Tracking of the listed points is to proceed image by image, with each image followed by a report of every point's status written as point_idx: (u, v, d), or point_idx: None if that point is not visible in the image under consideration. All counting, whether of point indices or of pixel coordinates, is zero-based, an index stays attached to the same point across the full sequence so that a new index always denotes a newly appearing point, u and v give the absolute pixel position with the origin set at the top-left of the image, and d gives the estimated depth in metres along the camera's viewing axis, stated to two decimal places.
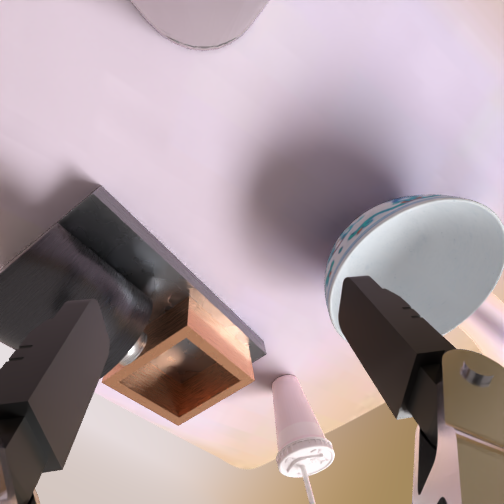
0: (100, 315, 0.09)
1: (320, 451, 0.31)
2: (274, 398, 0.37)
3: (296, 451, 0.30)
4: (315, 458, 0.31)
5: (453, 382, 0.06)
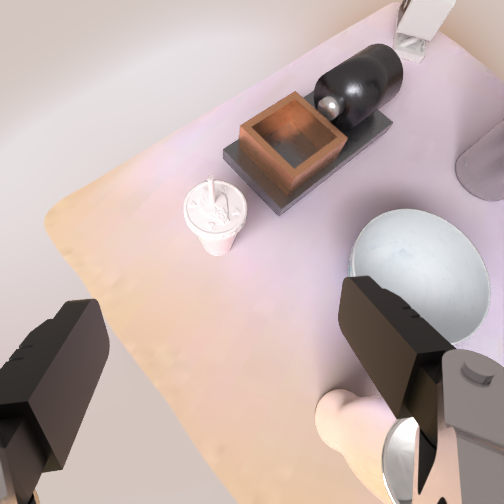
0: (100, 315, 0.09)
1: (234, 218, 0.28)
2: None
3: (240, 193, 0.29)
4: (225, 213, 0.28)
5: (453, 382, 0.06)
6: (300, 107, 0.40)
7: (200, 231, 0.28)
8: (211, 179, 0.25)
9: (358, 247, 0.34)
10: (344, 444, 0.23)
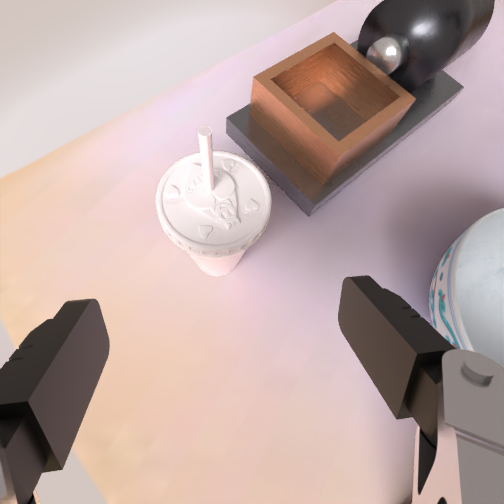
0: (100, 315, 0.09)
1: (248, 217, 0.16)
2: None
3: (258, 174, 0.17)
4: (232, 207, 0.15)
5: (453, 382, 0.06)
6: (341, 55, 0.27)
7: (185, 241, 0.15)
8: (205, 134, 0.12)
9: None
10: None
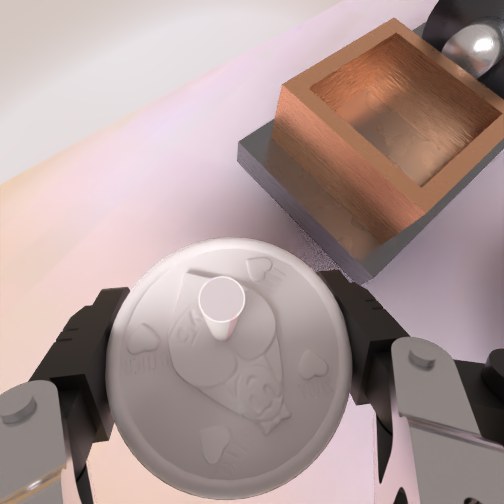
0: None
1: (308, 398, 0.07)
2: None
3: (321, 288, 0.08)
4: (273, 380, 0.07)
5: (402, 370, 0.06)
6: (406, 52, 0.18)
7: (169, 480, 0.06)
8: (224, 307, 0.04)
9: None
10: None
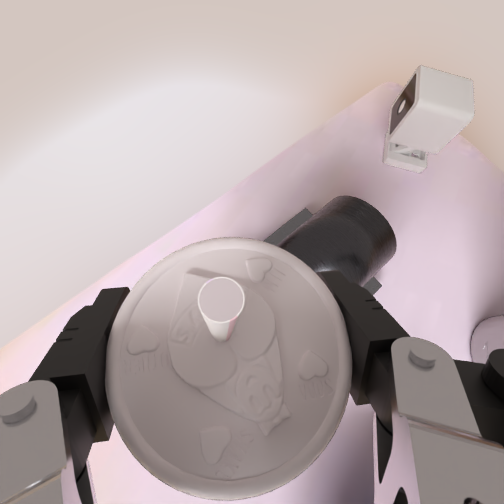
0: None
1: (307, 399, 0.07)
2: None
3: (321, 289, 0.08)
4: (273, 380, 0.07)
5: (402, 370, 0.06)
6: None
7: (169, 481, 0.06)
8: (223, 308, 0.03)
9: None
10: None
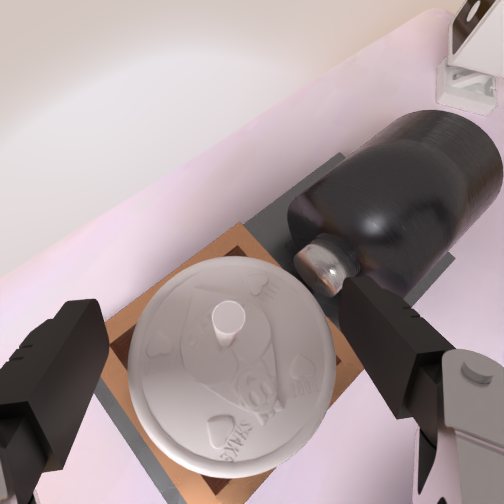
0: (100, 315, 0.09)
1: (298, 394, 0.09)
2: None
3: (310, 300, 0.10)
4: (268, 379, 0.08)
5: (453, 382, 0.06)
6: None
7: (182, 462, 0.08)
8: (230, 323, 0.05)
9: None
10: None
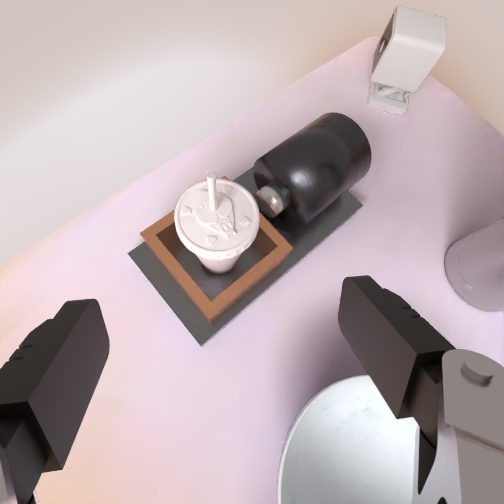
0: (100, 315, 0.09)
1: (242, 230, 0.21)
2: None
3: (250, 196, 0.22)
4: (230, 223, 0.21)
5: (453, 382, 0.06)
6: None
7: (196, 248, 0.20)
8: (211, 176, 0.17)
9: (300, 421, 0.24)
10: None
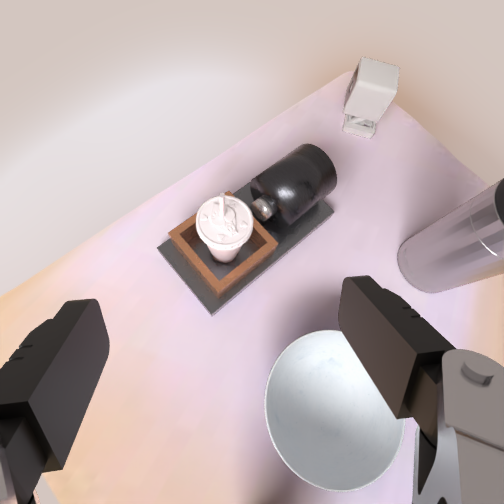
0: (100, 315, 0.09)
1: (241, 230, 0.32)
2: None
3: (247, 207, 0.32)
4: (233, 225, 0.31)
5: (453, 382, 0.06)
6: None
7: (211, 242, 0.31)
8: (222, 196, 0.28)
9: (281, 363, 0.34)
10: None
